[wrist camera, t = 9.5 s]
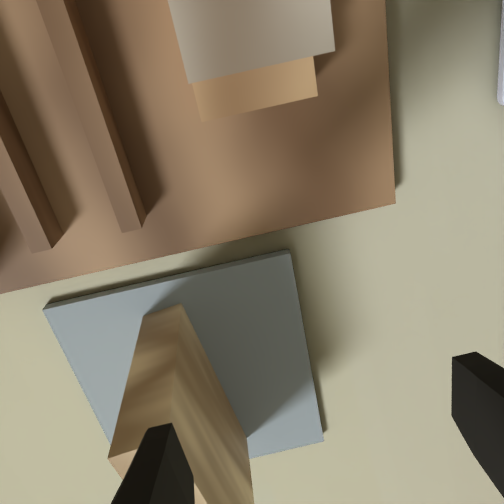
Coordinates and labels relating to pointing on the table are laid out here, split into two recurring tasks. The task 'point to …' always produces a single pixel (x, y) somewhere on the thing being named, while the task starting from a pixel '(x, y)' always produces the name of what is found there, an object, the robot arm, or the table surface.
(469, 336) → the table surface
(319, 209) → the walnut rack
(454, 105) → the table surface
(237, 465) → the plywood sheet
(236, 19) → the upper offcut
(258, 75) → the block
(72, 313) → the slate mat
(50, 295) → the table surface
